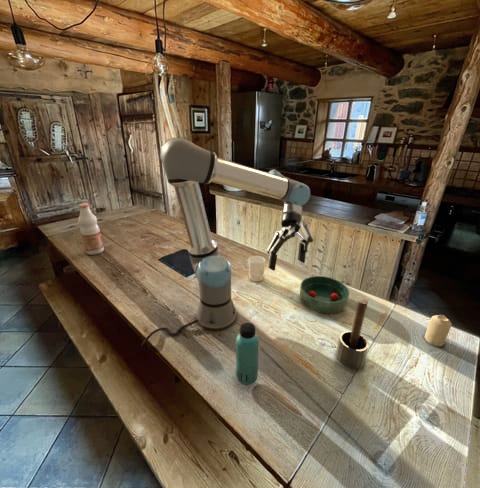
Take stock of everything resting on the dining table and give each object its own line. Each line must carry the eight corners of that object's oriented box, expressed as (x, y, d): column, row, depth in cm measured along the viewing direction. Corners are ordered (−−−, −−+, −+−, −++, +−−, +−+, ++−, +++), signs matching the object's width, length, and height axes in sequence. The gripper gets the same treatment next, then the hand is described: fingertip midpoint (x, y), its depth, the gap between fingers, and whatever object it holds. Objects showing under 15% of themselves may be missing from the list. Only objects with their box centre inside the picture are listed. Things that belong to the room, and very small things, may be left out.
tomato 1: (312, 300, 111) (313, 294, 110) (306, 297, 113) (307, 291, 112) (316, 298, 112) (317, 292, 111) (311, 294, 115) (312, 288, 113)
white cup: (263, 283, 124) (264, 264, 120) (246, 281, 125) (247, 262, 121) (265, 274, 131) (266, 256, 127) (249, 272, 133) (249, 255, 128)
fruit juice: (82, 253, 151) (69, 205, 140) (96, 246, 159) (85, 201, 148) (94, 256, 148) (82, 207, 137) (107, 249, 156) (97, 203, 144)
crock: (353, 375, 79) (358, 355, 76) (330, 357, 85) (334, 338, 82) (368, 362, 83) (374, 342, 80) (346, 345, 89) (350, 327, 86)
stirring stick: (350, 362, 82) (364, 304, 73) (344, 357, 84) (356, 300, 75) (355, 359, 84) (369, 301, 75) (348, 354, 85) (361, 297, 77)
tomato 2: (334, 302, 109) (335, 296, 108) (328, 299, 112) (329, 293, 110) (339, 300, 111) (340, 294, 110) (333, 296, 113) (334, 290, 112)
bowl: (326, 322, 100) (329, 309, 98) (289, 296, 114) (291, 285, 112) (356, 303, 110) (359, 291, 108) (319, 282, 125) (320, 271, 122)
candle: (425, 332, 95) (433, 310, 91) (444, 339, 92) (453, 316, 88) (423, 341, 91) (431, 318, 87) (442, 349, 88) (452, 325, 84)
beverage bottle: (256, 369, 81) (258, 317, 72) (259, 390, 74) (261, 335, 66) (235, 370, 80) (235, 318, 72) (235, 390, 74) (235, 336, 66)
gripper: (325, 211, 97) (322, 262, 87) (274, 231, 115) (267, 275, 104) (312, 200, 94) (308, 251, 83) (262, 222, 111) (254, 267, 101)
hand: (285, 265), depth 94 cm, fingers open, 13 cm apart
